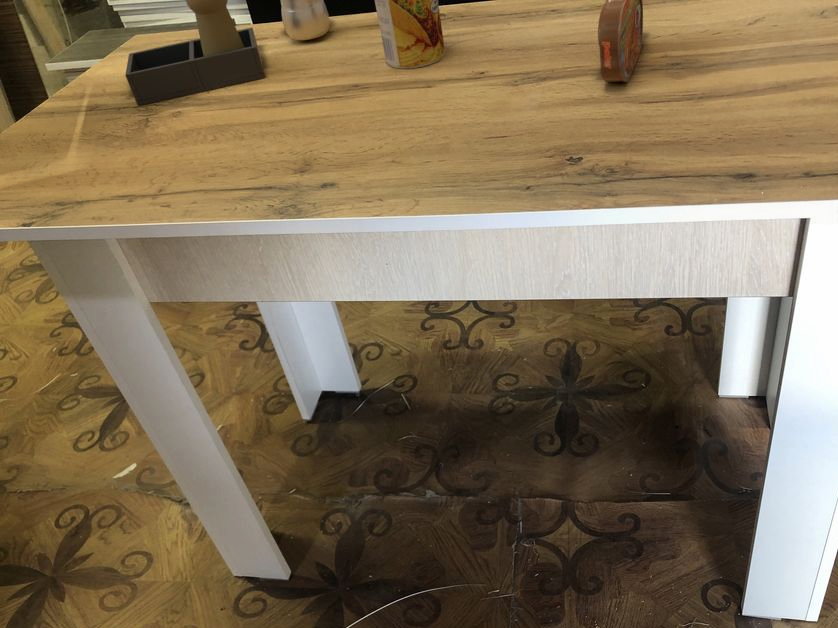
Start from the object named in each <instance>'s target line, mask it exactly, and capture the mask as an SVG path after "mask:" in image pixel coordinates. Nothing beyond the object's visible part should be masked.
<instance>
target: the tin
mask: <svg viewBox="0 0 838 628" xmlns="http://www.w3.org/2000/svg"><path fill="white" fill-rule="evenodd" d="M643 5H644V3H643V0H605V3H604V4H603V6H602V8H601V11H600V14H599V18H598V26H597V41H598V42H597V43H598V48H599V59H600V76H601V79H602V80H603V81H604V82H606V83H617V82H619V83H621V82H623V83H627V82H629V81H630V78H631V76H632V74H633V71H634V68H635V66H636V64H637V62H638V59H639V57H640V55H641V49H642V44H643V35H644V34H643V33H644V31H643V30H644V6H643Z"/></svg>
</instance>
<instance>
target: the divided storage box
mask: <svg viewBox="0 0 838 628" xmlns="http://www.w3.org/2000/svg"><path fill="white" fill-rule="evenodd" d="M237 32H238V34H239V36H240V38H241V41H242V43H243V45H244V48H242V49H238V50H233V51H228V52H224V53H219V54H214V55H210V56H205V57H204V55H203V50H202V45H201V40H200V38H196V39H190V40H186V41H181V42H177V43H171V44H167V45H163V46H158V47H153V48H149V49H144V50H139V51H133V52H130V53H128V57H127V64H126V70H125V78H126V81H127V83H128V85H129V88H130V91H131V92H132V95H133V98H134V101H135V103H136V105H137V106H139V107H140V106H144V105H148V104H153V103H159V102H161V101H166V100H171V99H176V98H180V97H184V96H190V95H193V94H194V95H195V94H198V93H202V92H208V91H211V90H216V89H221V88H224V87H229V86H234V85H239V84H242V83H248V82H251V81H257V80H261V79H265V78H266V73H265V68H264V65H263V60H262V56H261V53H260V49H259V45H258V42H257V39H256V35H255V31H254V29H253V27H248V28H242V29H238V30H237Z"/></svg>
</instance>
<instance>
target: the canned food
mask: <svg viewBox="0 0 838 628" xmlns="http://www.w3.org/2000/svg"><path fill="white" fill-rule="evenodd" d="M374 4H375V9H376V16H377V20H378V26H379V31H380V36H381V42H382V46H383V53H384V57H385V61H386V64H387V65H388V66H389V67H392V68H395V69H402V70H403V69H404V70H405V69H407V70H409V69H417V68H418V69H419V68H422V67H426V66H430V65H432V64H434V63H437V62H439V61H441V60H442V59H443V58H444V57H445V54H446V50H445V42H444V35H443V28H442V27H443V26H442V19H441V13H440V6H439V0H374Z"/></svg>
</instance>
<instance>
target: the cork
mask: <svg viewBox="0 0 838 628" xmlns="http://www.w3.org/2000/svg"><path fill="white" fill-rule="evenodd" d="M185 3H186V5H187V7H188V8H189V10H191V11H192V13H194V15H195V16H194V17H195V20H196V25H197V31H198V35H199V39H200V40H201V45H202V50H203V55H204V57H205V56H210V55H214V54H219V53H224V52H228V51H233V50H238V49H242V48H244V45H243V43H242V41H241V38H240V36H239V34H238V32H237V27H236V25H235V23H234V20H233V17H232V16H231V13H230V11H229V9H228V7H227V4H228V0H185Z"/></svg>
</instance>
